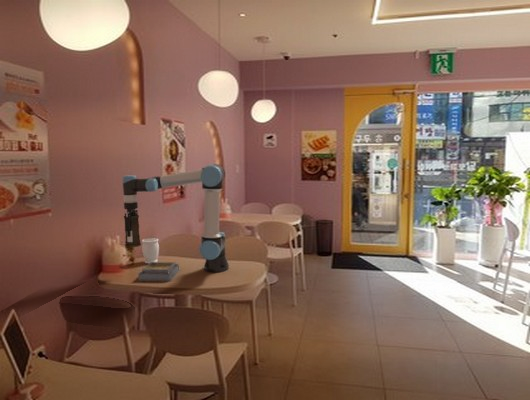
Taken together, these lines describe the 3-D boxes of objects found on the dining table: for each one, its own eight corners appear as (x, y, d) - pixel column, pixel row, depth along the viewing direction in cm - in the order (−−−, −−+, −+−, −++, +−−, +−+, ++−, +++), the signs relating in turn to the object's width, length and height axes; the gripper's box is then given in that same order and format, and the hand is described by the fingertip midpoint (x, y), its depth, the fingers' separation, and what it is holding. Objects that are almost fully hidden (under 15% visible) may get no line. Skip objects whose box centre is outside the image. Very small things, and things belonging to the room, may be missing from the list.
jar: (150, 265, 263) (149, 242, 261) (139, 262, 268) (138, 240, 266) (162, 261, 271) (161, 239, 270) (152, 258, 277) (151, 237, 275)
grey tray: (179, 270, 250) (179, 261, 249) (169, 281, 230) (169, 271, 229) (150, 270, 251) (150, 261, 250) (138, 281, 231) (138, 270, 230)
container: (136, 247, 236) (134, 216, 233) (122, 247, 238) (120, 216, 235) (143, 244, 244) (142, 214, 242) (130, 243, 246) (128, 214, 244)
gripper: (131, 199, 248) (133, 236, 251) (116, 204, 228) (119, 244, 230) (143, 199, 248) (145, 236, 251) (130, 204, 227) (132, 244, 230)
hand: (132, 240), depth 241 cm, fingers closed on container, 8 cm apart
